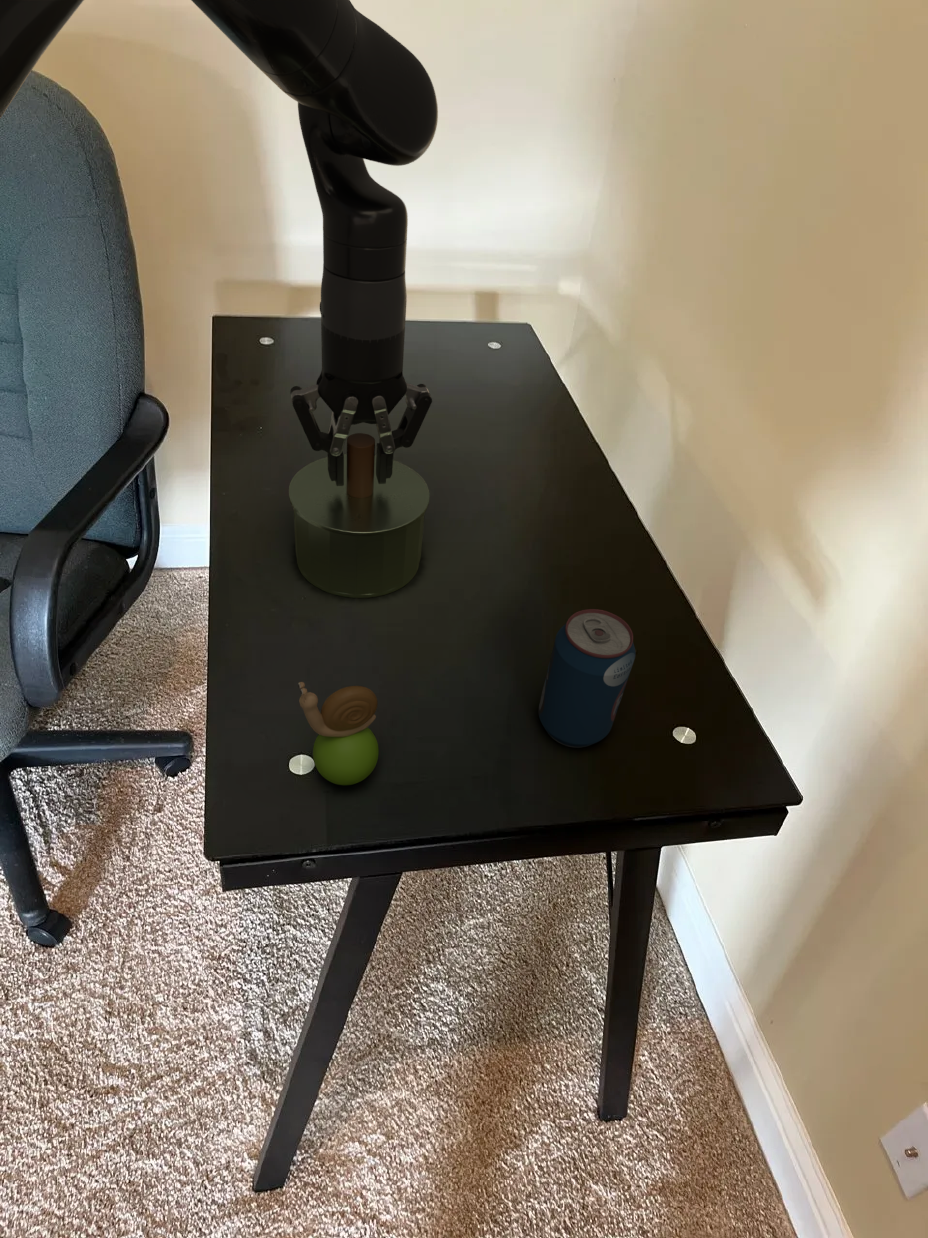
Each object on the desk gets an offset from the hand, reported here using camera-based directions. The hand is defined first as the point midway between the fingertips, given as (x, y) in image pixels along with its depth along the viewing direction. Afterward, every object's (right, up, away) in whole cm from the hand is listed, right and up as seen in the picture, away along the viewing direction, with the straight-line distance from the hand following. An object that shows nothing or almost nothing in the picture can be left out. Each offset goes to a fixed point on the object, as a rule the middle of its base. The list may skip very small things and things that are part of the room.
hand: (360, 479), depth 85 cm
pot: (-1, -8, +7) cm, 10 cm away
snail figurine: (0, -28, -15) cm, 31 cm away
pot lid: (0, -1, +1) cm, 2 cm away
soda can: (+21, -24, -8) cm, 33 cm away
